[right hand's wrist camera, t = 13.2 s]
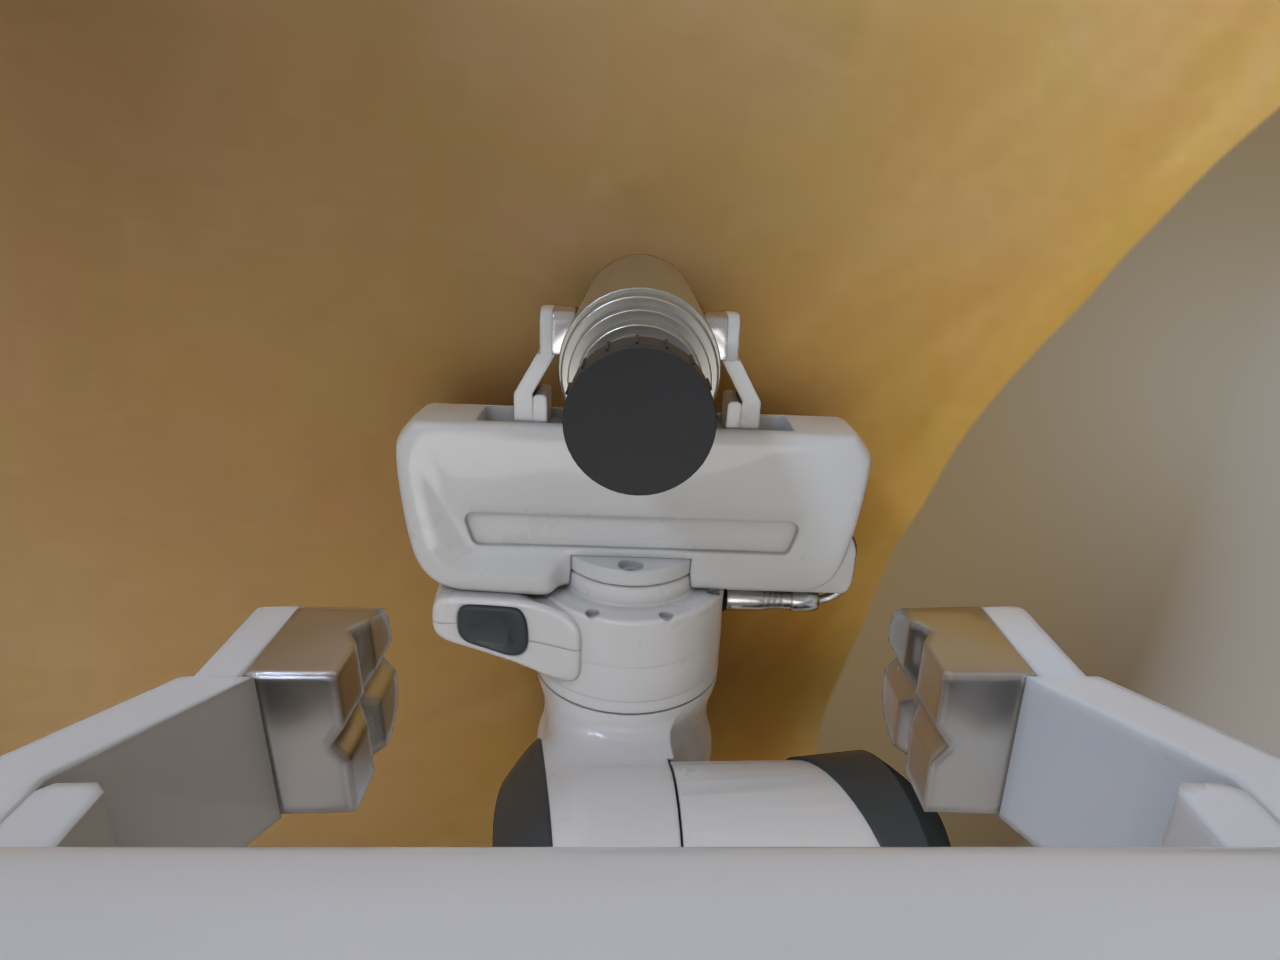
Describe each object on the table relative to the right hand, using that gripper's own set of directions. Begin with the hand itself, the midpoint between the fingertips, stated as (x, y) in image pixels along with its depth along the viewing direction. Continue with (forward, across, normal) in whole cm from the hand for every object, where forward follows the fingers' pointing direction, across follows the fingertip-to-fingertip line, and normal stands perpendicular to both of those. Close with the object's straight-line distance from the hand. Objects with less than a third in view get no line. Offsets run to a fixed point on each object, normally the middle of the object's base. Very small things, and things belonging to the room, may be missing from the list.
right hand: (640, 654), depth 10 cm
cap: (+11, 0, 0) cm, 11 cm away
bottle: (+30, 0, 0) cm, 30 cm away
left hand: (+24, 0, -1) cm, 25 cm away
